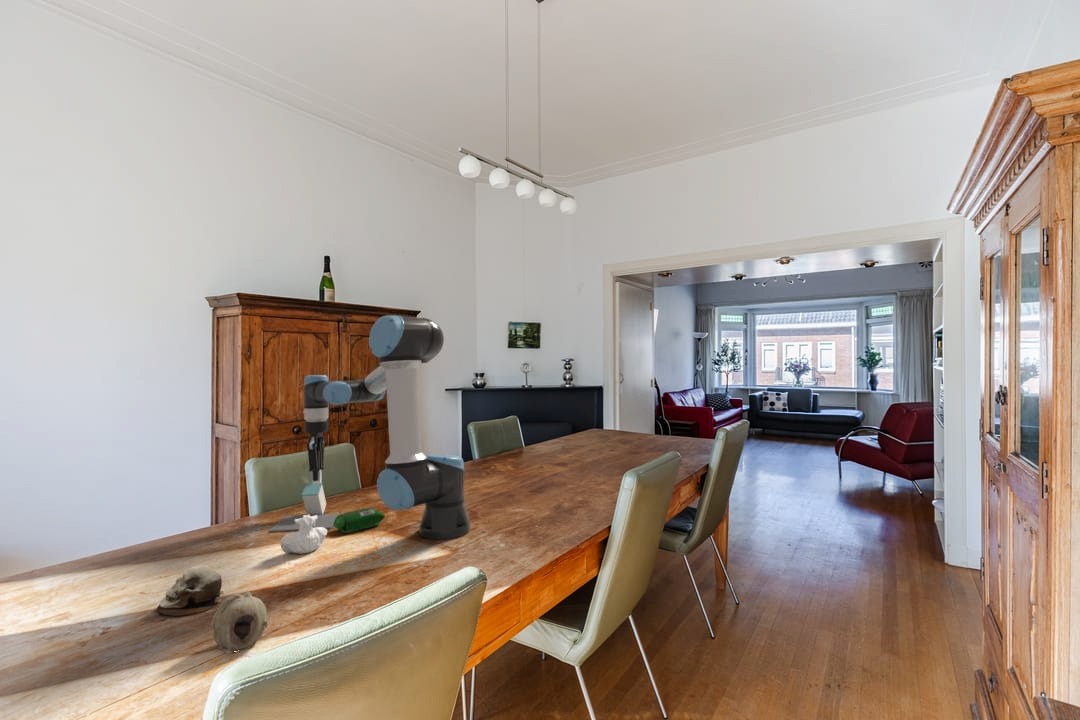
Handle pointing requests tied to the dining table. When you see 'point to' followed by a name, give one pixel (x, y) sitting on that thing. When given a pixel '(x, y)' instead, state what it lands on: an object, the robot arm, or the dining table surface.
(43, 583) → the dining table surface
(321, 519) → the rubber mat
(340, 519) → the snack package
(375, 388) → the robot arm
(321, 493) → the tall block
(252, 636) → the grey-brown rounded hollow piece
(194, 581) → the skull
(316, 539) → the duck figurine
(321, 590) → the dining table surface
